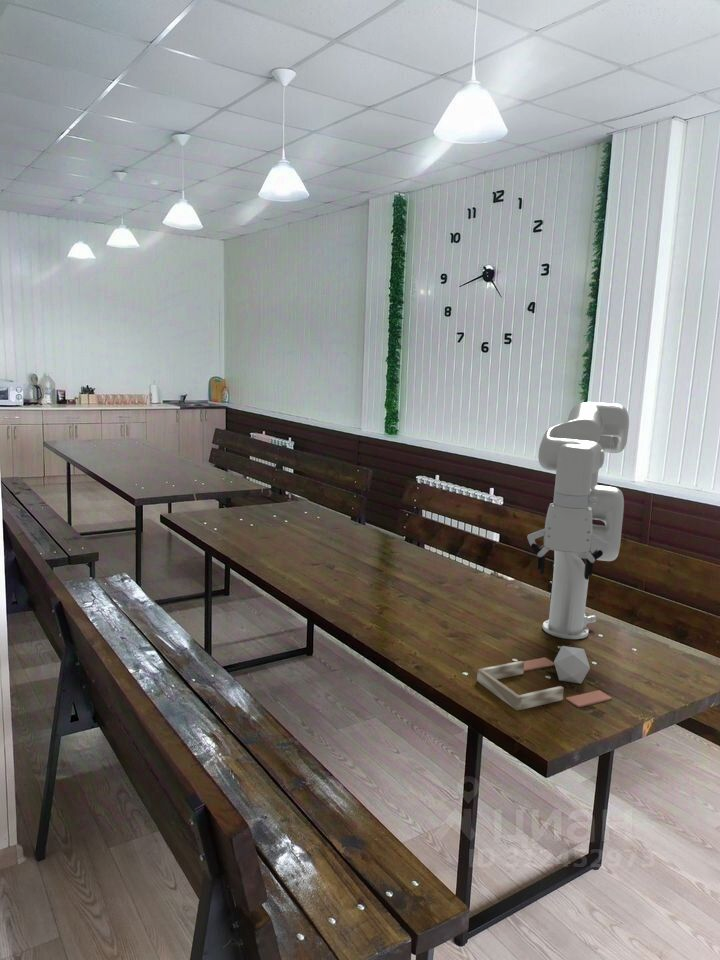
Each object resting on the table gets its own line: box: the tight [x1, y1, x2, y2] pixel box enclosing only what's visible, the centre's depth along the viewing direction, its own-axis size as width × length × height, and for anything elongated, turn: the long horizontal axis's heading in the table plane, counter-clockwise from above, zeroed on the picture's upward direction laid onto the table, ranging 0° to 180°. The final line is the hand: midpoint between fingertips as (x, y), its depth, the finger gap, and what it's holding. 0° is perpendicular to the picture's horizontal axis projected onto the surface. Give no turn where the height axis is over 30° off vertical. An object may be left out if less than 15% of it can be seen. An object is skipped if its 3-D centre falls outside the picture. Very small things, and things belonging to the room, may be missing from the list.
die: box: [553, 645, 591, 685], centre depth 172 cm, size 8×9×10 cm
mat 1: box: [522, 656, 555, 672], centre depth 179 cm, size 10×4×1 cm, turn 116°
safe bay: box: [476, 660, 565, 712], centre depth 165 cm, size 13×15×3 cm
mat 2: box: [565, 689, 613, 708], centre depth 163 cm, size 10×4×1 cm, turn 116°
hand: (563, 575), depth 159 cm, fingers open, 9 cm apart
